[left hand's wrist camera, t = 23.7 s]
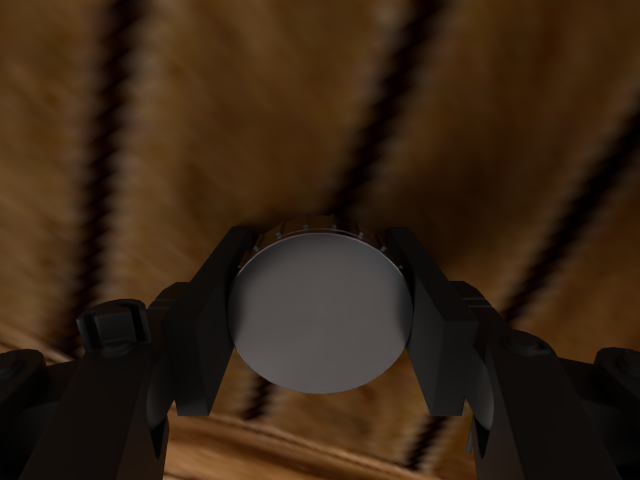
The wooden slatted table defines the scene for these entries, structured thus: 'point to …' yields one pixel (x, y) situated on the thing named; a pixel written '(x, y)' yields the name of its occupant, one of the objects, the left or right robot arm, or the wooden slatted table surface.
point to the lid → (319, 305)
